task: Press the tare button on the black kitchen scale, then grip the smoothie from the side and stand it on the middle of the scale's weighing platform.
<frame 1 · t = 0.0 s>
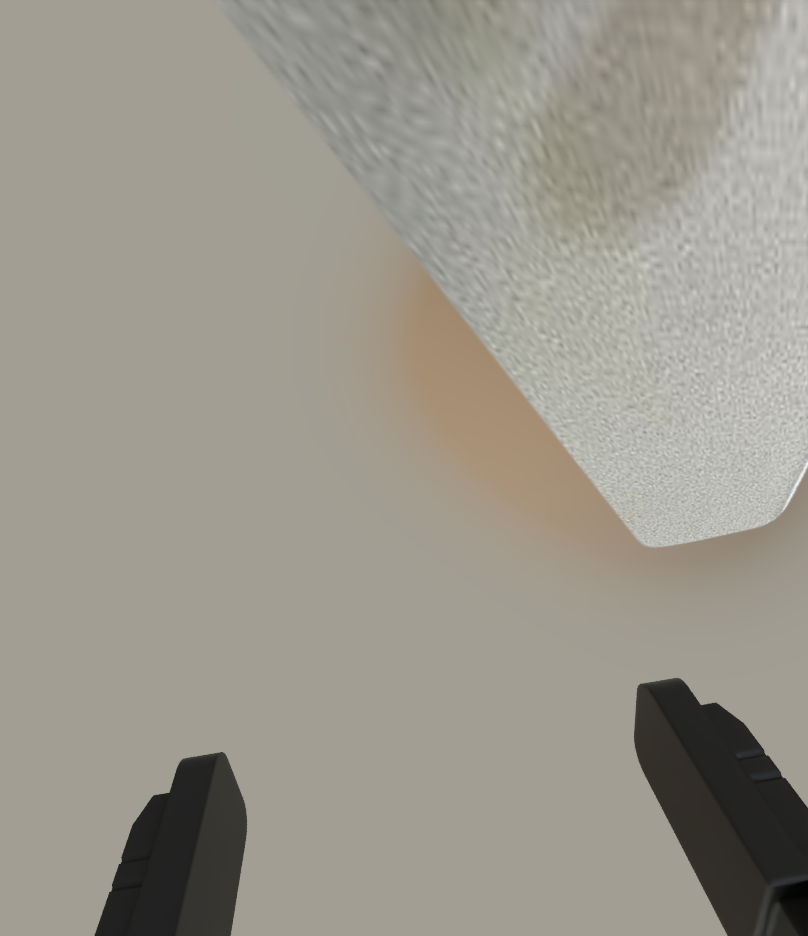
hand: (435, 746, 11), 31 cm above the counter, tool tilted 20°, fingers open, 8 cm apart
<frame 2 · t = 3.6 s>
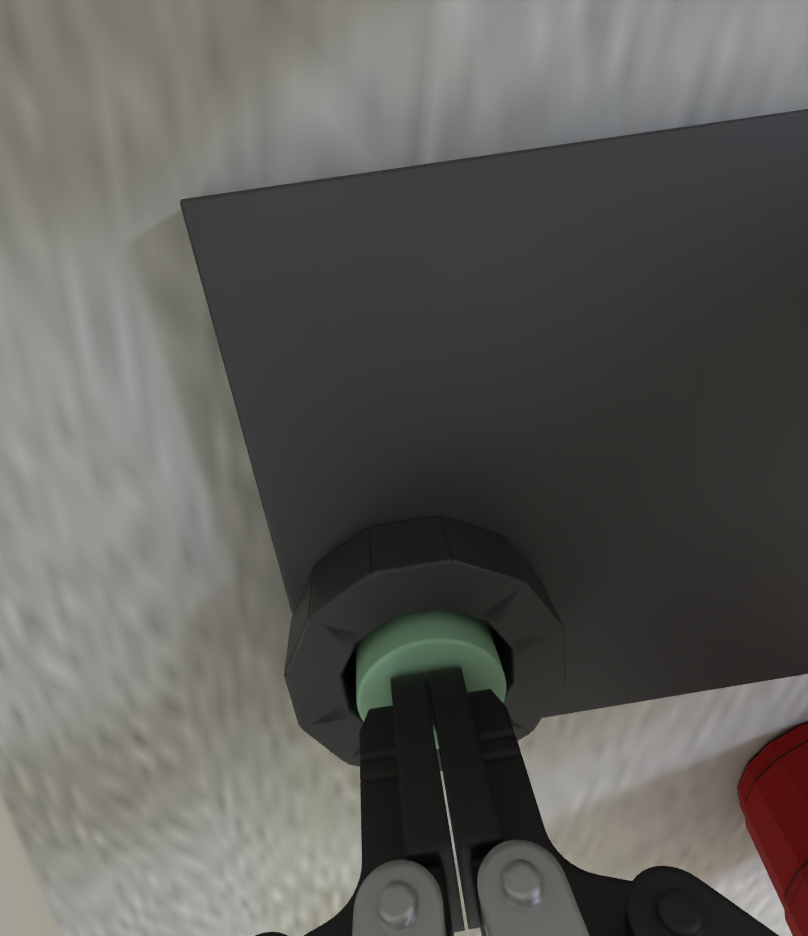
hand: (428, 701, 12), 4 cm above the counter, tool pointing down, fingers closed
tare button: (428, 671, 13), point 3 cm above the counter, slide at -0.5 cm, touching gripper
scale: (601, 464, 14), on the counter
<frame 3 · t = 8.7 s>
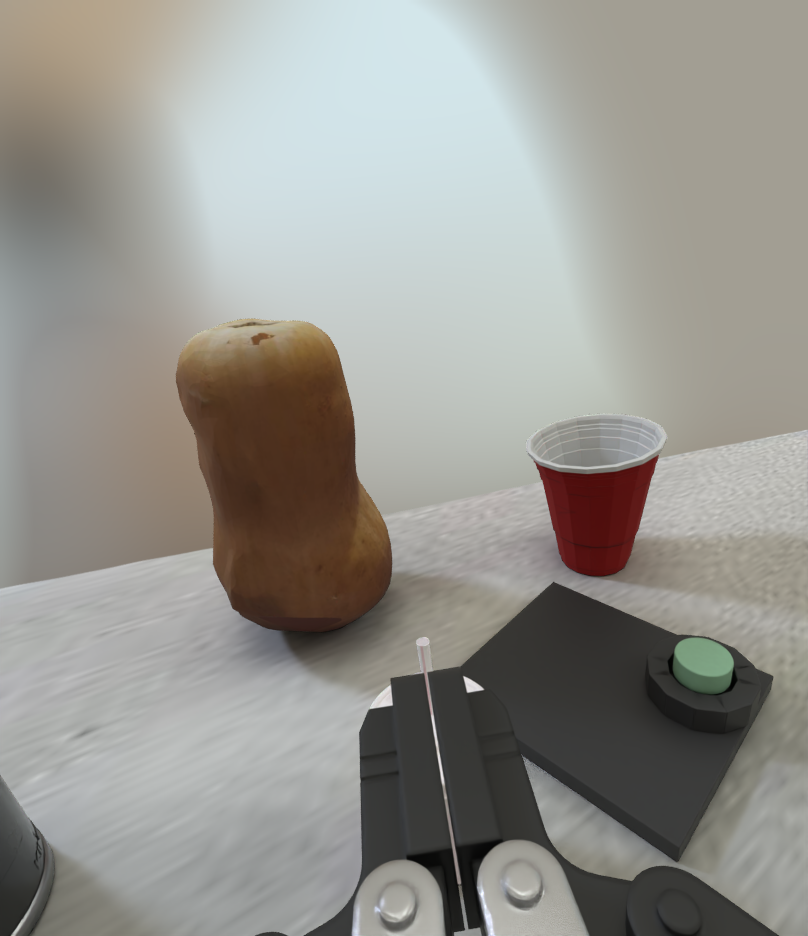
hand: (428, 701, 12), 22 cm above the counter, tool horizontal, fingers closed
tare button: (702, 665, 35), point 3 cm above the counter, slide at 0.1 cm
plastic cup: (590, 558, 52), on the counter
smoothie: (449, 850, 31), on the counter
butternut squash: (319, 616, 49), on the counter
scale: (600, 694, 38), on the counter
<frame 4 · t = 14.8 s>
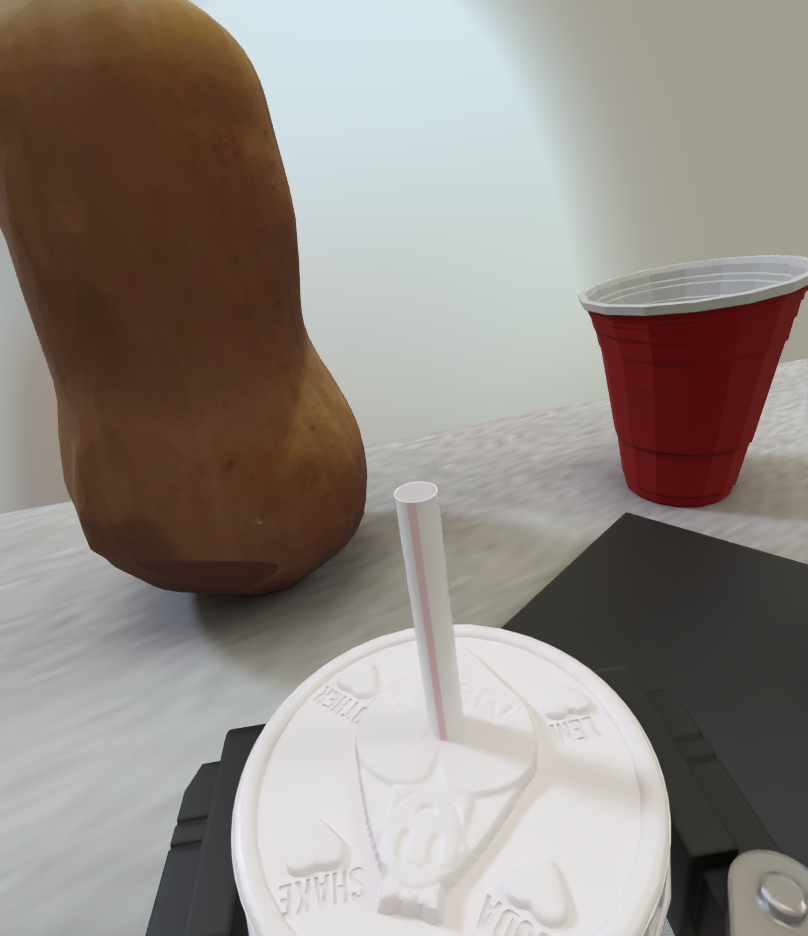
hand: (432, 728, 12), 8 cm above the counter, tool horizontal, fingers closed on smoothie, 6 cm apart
plastic cup: (672, 485, 34), on the counter
butternut squash: (255, 574, 31), on the counter
scale: (748, 688, 20), on the counter
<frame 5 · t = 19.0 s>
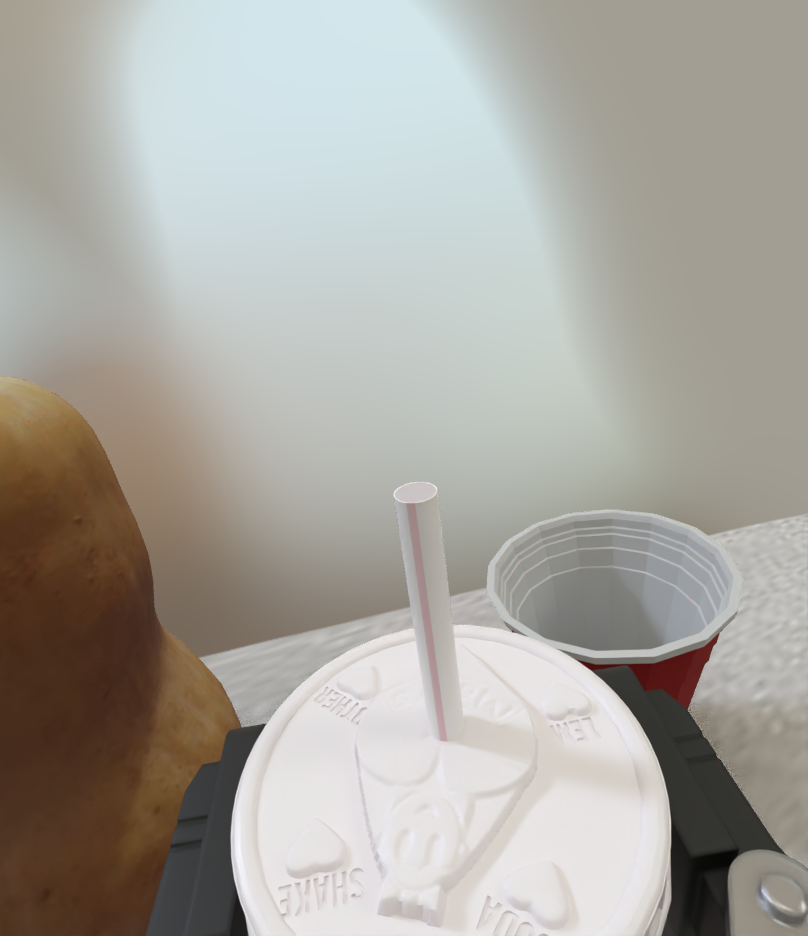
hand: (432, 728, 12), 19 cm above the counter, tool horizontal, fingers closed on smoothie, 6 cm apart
plastic cup: (599, 746, 31), on the counter
butternut squash: (134, 872, 28), on the counter
when the fingers open (9 cm above the counter, at t = 23.2 s): smoothie stays where it is, resting on scale.
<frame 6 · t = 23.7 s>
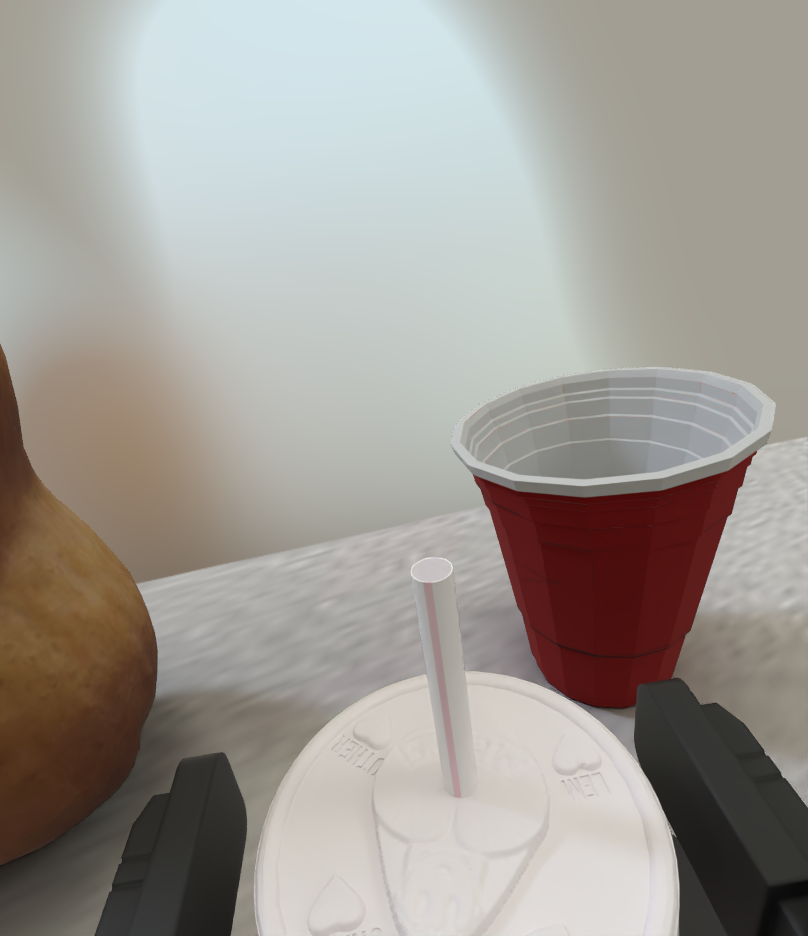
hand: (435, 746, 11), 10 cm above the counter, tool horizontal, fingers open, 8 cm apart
plastic cup: (595, 659, 26), on the counter
butternut squash: (21, 802, 23), on the counter
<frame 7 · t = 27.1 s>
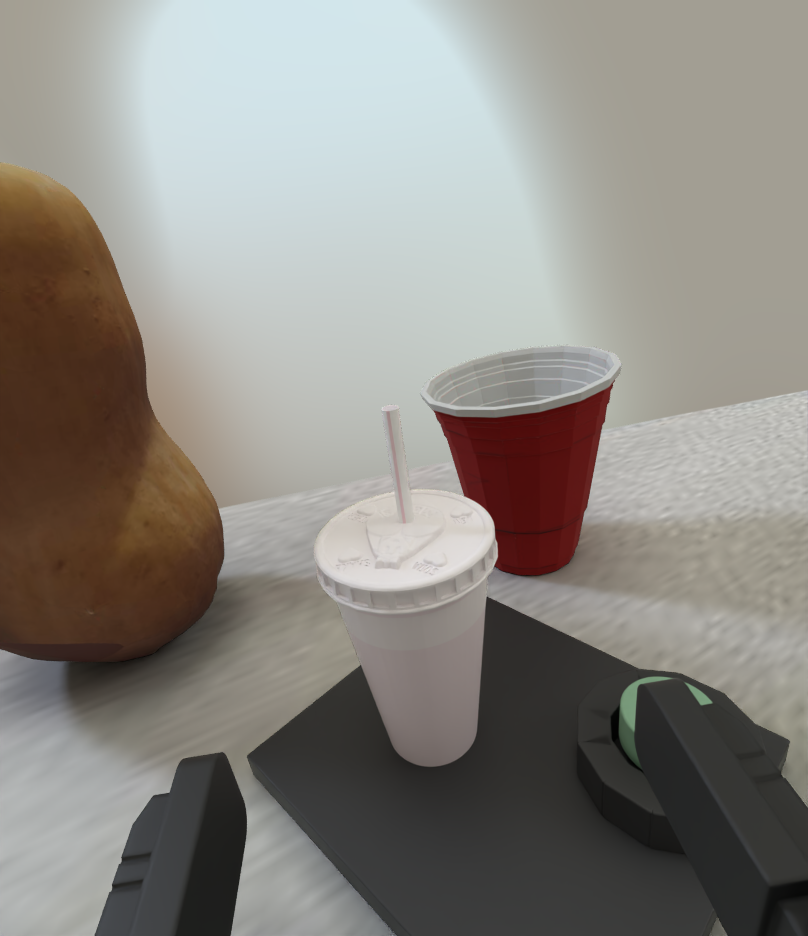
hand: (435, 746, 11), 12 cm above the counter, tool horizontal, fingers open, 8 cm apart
tare button: (667, 726, 20), point 3 cm above the counter, slide at 0.1 cm
plastic cup: (524, 551, 37), on the counter
smoothie: (433, 730, 24), point 1 cm above the counter, touching scale
butternut squash: (130, 637, 34), on the counter
scale: (505, 768, 23), on the counter
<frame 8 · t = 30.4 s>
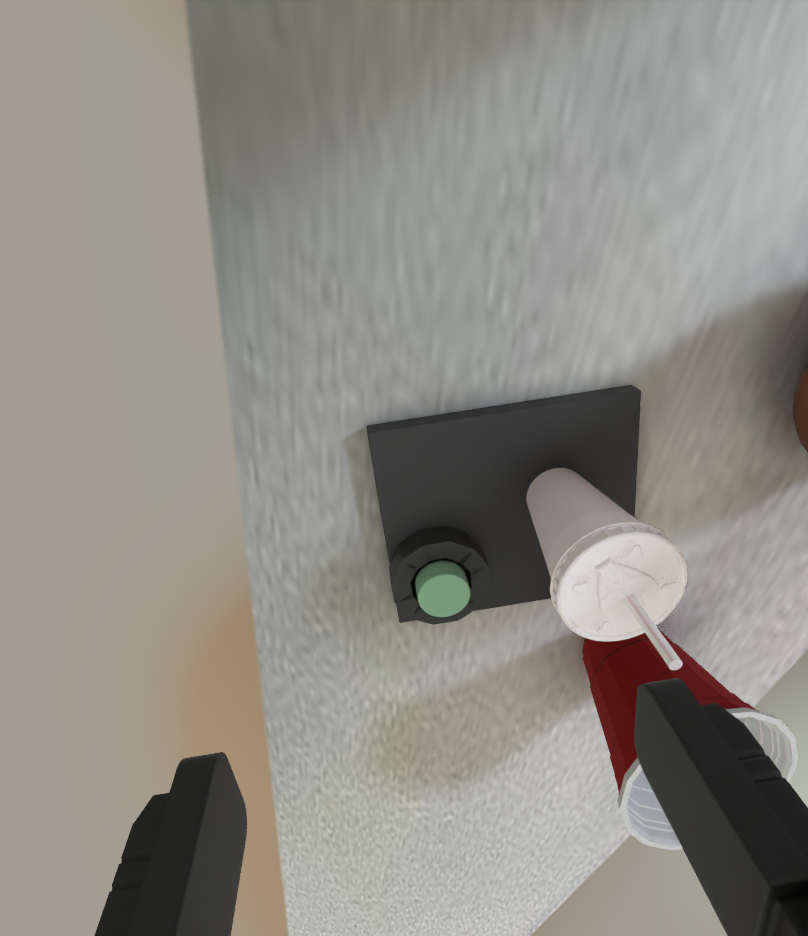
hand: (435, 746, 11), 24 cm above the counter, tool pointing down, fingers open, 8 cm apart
tare button: (442, 588, 35), point 3 cm above the counter, slide at 0.1 cm
plastic cup: (620, 640, 43), on the counter
smoothie: (554, 493, 36), point 1 cm above the counter, touching scale
scale: (506, 506, 37), on the counter
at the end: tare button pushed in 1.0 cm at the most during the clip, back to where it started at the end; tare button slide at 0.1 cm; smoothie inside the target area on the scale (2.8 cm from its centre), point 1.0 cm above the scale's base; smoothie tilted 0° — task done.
